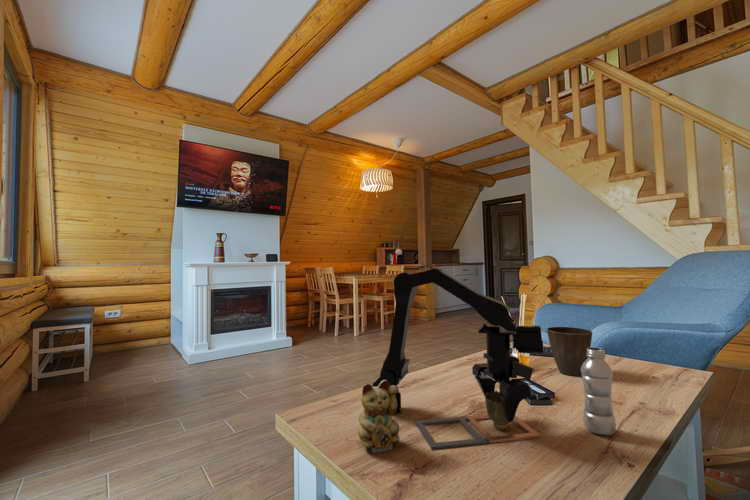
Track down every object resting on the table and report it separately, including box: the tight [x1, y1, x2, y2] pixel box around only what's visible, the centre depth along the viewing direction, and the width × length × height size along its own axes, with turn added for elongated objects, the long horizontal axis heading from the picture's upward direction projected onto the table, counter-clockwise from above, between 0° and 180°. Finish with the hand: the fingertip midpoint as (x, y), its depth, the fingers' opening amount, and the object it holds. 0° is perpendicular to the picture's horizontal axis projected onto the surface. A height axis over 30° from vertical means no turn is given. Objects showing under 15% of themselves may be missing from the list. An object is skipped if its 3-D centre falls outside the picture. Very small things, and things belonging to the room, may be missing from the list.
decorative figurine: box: [357, 380, 401, 454], centre depth 78 cm, size 10×8×15 cm
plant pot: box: [546, 326, 593, 377], centre depth 127 cm, size 15×15×16 cm
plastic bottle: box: [581, 347, 617, 436], centre depth 83 cm, size 6×7×20 cm
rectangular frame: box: [415, 413, 542, 451], centre depth 84 cm, size 27×13×1 cm, turn 99°
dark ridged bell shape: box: [484, 390, 511, 431], centre depth 85 cm, size 8×7×8 cm
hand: (500, 413), depth 86 cm, fingers open, 9 cm apart
